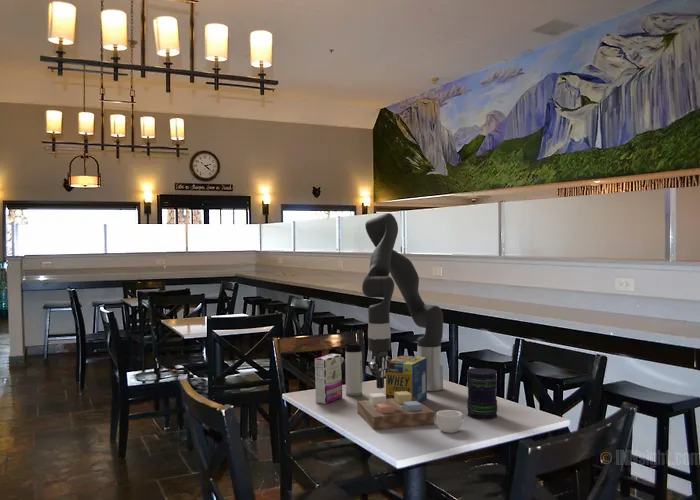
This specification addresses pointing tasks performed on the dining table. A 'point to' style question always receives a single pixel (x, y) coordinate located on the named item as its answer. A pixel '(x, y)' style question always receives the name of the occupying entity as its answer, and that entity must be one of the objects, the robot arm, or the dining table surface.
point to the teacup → (449, 420)
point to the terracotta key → (385, 408)
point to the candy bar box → (328, 378)
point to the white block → (377, 399)
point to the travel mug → (353, 369)
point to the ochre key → (402, 397)
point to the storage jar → (482, 393)
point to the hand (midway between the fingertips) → (380, 387)
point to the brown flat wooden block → (395, 415)
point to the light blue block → (411, 406)
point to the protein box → (407, 377)
